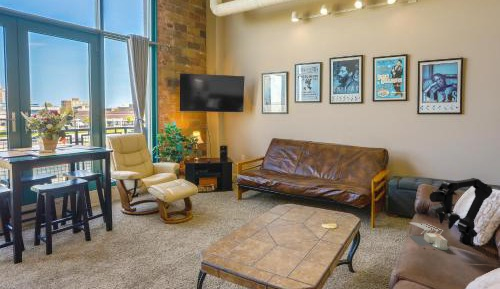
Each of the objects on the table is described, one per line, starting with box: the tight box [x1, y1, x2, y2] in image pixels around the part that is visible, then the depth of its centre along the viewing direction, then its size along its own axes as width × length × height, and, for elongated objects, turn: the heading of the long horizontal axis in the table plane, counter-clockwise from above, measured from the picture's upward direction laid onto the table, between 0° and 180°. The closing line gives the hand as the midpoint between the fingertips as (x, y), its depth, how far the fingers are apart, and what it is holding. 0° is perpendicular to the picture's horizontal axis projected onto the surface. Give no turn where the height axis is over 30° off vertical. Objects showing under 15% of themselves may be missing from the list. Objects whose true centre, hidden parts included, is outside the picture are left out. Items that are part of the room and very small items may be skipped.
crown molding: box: [409, 222, 444, 235], centre depth 225 cm, size 24×1×20 cm
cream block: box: [434, 235, 448, 248], centre depth 194 cm, size 4×6×5 cm, turn 178°
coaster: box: [432, 243, 450, 251], centre depth 195 cm, size 8×8×1 cm
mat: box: [408, 235, 453, 252], centre depth 201 cm, size 17×21×1 cm
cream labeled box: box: [423, 232, 444, 243], centre depth 203 cm, size 9×6×4 cm, turn 88°
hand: (445, 226), depth 199 cm, fingers open, 9 cm apart
